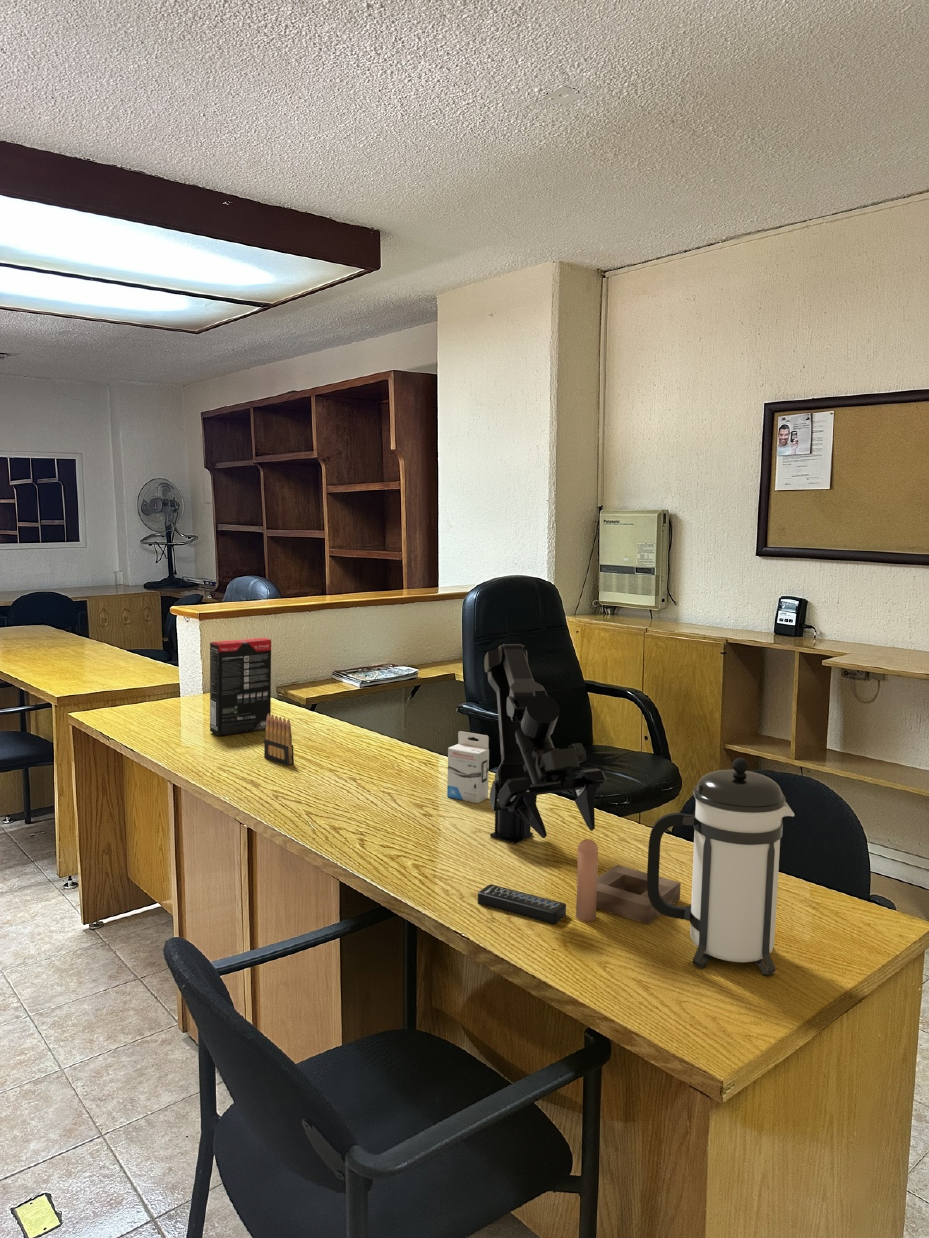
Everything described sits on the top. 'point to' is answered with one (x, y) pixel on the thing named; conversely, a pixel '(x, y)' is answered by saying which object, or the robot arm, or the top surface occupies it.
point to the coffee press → (729, 866)
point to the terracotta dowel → (587, 880)
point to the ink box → (468, 768)
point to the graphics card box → (240, 685)
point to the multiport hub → (522, 904)
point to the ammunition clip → (278, 741)
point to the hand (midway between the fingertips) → (569, 833)
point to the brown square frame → (632, 893)
